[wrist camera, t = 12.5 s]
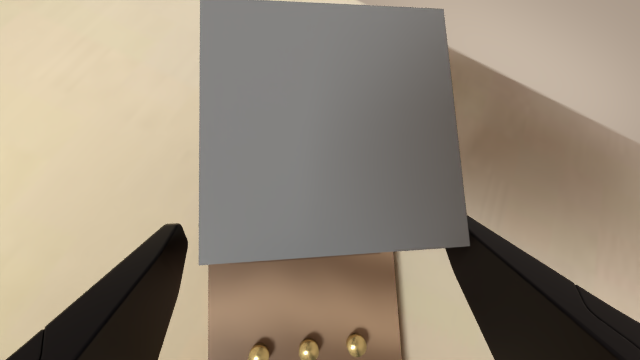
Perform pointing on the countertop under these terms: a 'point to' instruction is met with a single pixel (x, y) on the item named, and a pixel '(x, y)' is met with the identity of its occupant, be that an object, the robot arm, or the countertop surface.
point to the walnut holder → (304, 309)
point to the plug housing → (325, 132)
